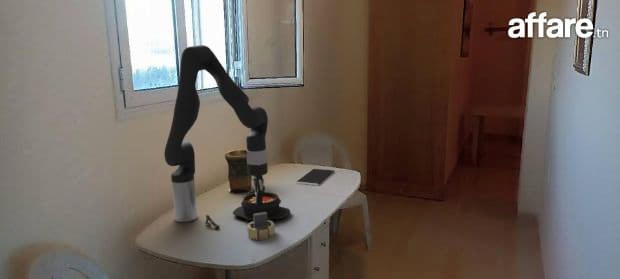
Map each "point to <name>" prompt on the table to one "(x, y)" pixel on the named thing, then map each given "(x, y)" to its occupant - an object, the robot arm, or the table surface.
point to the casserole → (262, 207)
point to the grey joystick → (260, 220)
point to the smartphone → (315, 177)
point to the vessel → (238, 172)
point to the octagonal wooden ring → (261, 231)
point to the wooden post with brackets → (211, 222)
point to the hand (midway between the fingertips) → (259, 205)
